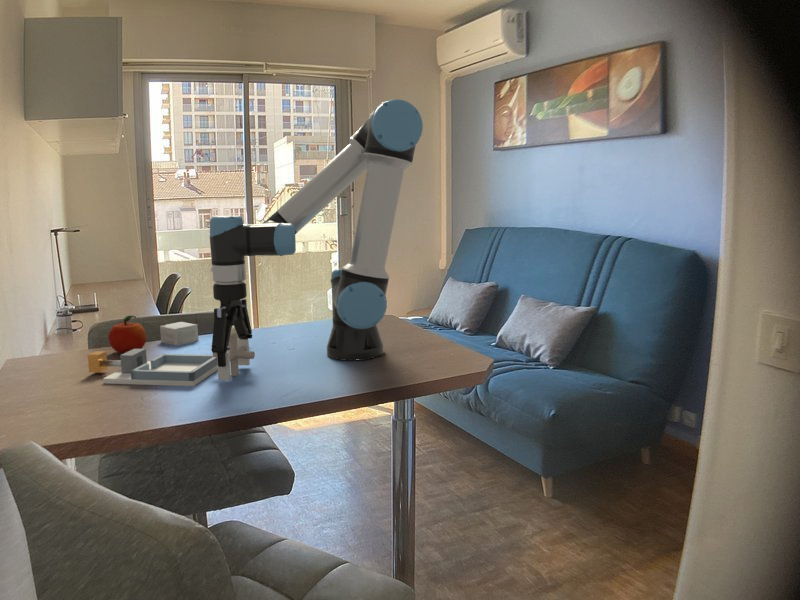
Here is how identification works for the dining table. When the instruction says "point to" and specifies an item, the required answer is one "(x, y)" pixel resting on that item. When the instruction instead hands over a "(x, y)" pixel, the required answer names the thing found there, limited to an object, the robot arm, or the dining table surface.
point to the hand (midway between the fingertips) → (234, 371)
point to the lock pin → (101, 362)
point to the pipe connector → (236, 354)
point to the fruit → (127, 336)
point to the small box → (179, 333)
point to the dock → (162, 369)
